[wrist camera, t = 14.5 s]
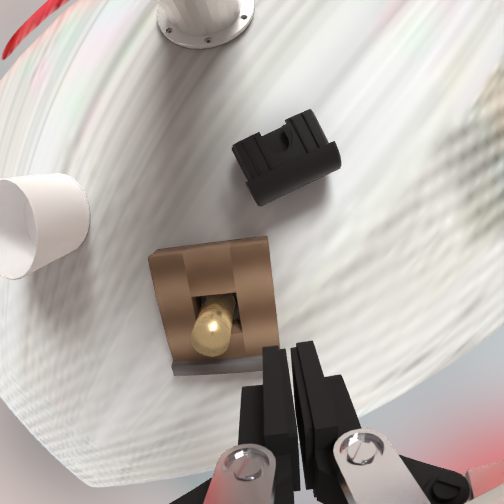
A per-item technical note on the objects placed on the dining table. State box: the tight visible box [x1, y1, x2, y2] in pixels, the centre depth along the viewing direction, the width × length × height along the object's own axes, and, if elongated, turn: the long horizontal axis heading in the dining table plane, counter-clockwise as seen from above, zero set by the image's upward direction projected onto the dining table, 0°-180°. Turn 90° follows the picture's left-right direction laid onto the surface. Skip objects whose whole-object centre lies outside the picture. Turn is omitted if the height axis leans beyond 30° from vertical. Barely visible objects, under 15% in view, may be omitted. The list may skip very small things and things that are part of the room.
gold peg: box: [191, 293, 235, 357], centre depth 36 cm, size 4×4×10 cm
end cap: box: [232, 109, 341, 206], centre depth 33 cm, size 10×7×7 cm
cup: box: [0, 173, 90, 280], centre depth 32 cm, size 12×12×12 cm
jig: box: [148, 236, 280, 376], centre depth 38 cm, size 16×14×5 cm
